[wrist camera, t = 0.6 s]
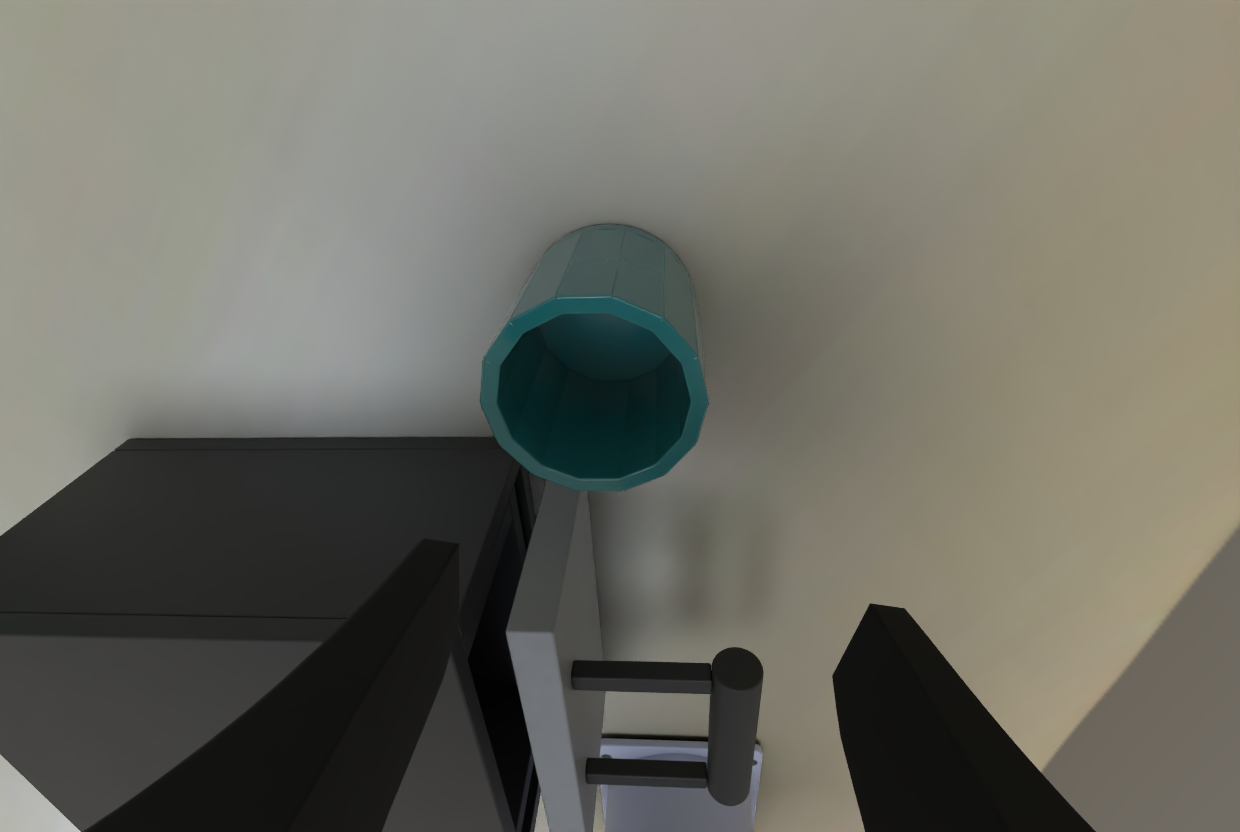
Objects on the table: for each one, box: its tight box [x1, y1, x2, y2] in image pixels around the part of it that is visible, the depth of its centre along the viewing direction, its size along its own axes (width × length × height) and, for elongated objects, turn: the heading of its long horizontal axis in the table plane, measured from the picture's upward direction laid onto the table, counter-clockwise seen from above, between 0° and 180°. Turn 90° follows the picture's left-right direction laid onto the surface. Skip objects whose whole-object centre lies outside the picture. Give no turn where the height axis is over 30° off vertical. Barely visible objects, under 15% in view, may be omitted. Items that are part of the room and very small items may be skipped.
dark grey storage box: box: [0, 438, 541, 832], centre depth 21 cm, size 14×13×8 cm
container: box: [480, 224, 709, 491], centre depth 16 cm, size 5×5×6 cm
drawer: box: [461, 480, 763, 832], centre depth 21 cm, size 19×12×7 cm, turn 93°
